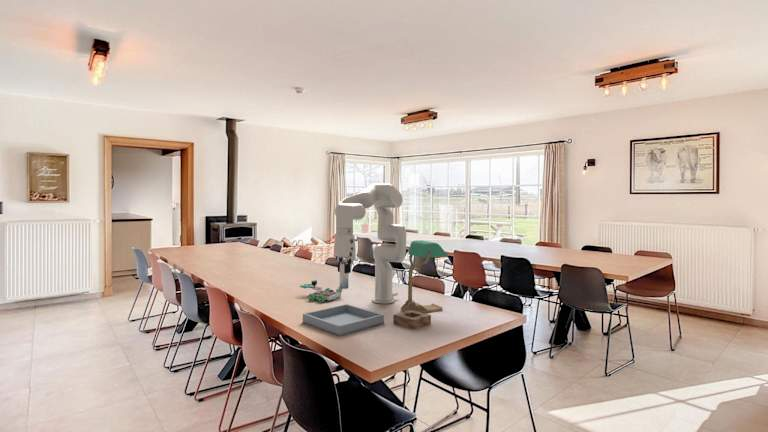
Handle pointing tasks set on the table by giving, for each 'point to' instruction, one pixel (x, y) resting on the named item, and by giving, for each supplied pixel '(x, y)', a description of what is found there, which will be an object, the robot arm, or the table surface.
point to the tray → (343, 319)
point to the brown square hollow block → (412, 319)
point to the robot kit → (321, 292)
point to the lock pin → (343, 276)
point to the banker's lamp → (420, 250)
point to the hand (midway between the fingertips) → (344, 271)
